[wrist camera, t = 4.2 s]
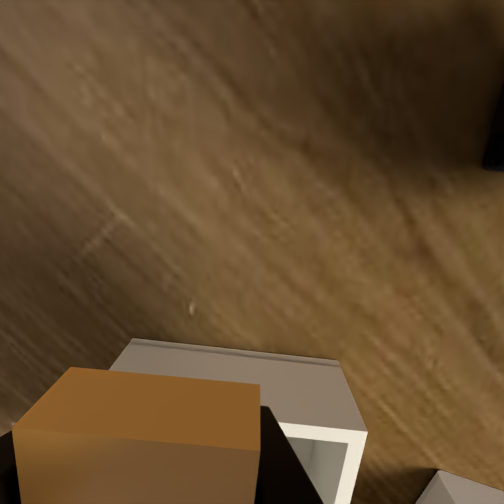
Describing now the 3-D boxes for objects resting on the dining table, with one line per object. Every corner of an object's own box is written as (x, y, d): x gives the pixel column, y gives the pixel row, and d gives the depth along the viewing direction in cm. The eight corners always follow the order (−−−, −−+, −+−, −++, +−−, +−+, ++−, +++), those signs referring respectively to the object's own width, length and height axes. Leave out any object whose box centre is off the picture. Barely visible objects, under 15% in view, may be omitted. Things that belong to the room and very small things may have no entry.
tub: (337, 360, 21) (367, 431, 15) (312, 485, 24) (329, 586, 18) (132, 338, 21) (84, 401, 15) (130, 466, 24) (89, 561, 18)
